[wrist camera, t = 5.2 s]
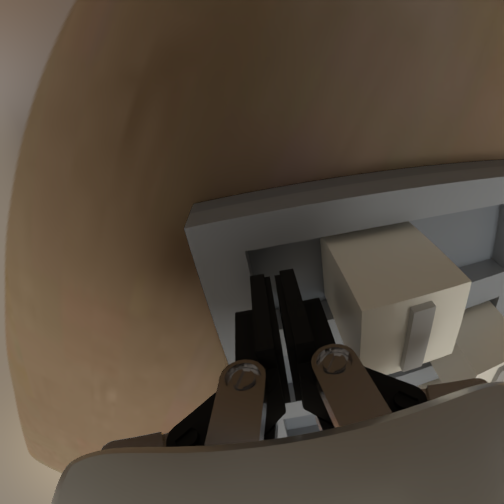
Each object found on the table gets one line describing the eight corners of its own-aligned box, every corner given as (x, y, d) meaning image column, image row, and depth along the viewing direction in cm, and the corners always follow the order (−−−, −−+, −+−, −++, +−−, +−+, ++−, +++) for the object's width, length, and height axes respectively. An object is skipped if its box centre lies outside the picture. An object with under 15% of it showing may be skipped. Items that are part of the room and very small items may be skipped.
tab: (430, 306, 16) (479, 379, 11) (480, 290, 16) (532, 351, 11) (421, 347, 17) (459, 417, 12) (469, 330, 17) (510, 390, 12)
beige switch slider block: (319, 230, 13) (365, 318, 8) (402, 215, 13) (476, 286, 8) (324, 294, 15) (359, 389, 10) (399, 277, 15) (455, 358, 10)
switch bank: (193, 204, 14) (182, 231, 11) (510, 159, 13) (545, 174, 10) (262, 429, 23) (265, 460, 20) (460, 376, 22) (474, 400, 19)
